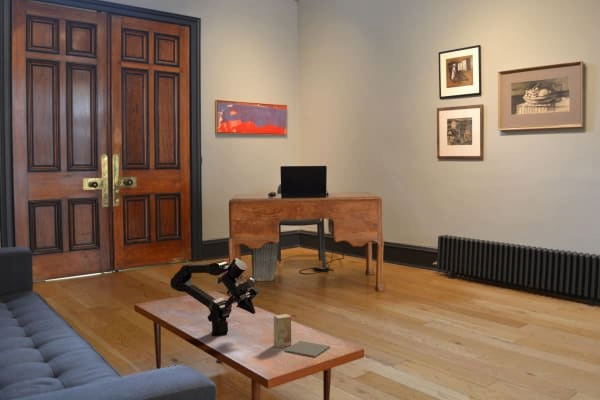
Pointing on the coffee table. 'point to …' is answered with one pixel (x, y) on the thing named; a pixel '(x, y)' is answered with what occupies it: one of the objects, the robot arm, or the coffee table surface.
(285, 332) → the skincare box
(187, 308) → the coffee table surface
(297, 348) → the mat
